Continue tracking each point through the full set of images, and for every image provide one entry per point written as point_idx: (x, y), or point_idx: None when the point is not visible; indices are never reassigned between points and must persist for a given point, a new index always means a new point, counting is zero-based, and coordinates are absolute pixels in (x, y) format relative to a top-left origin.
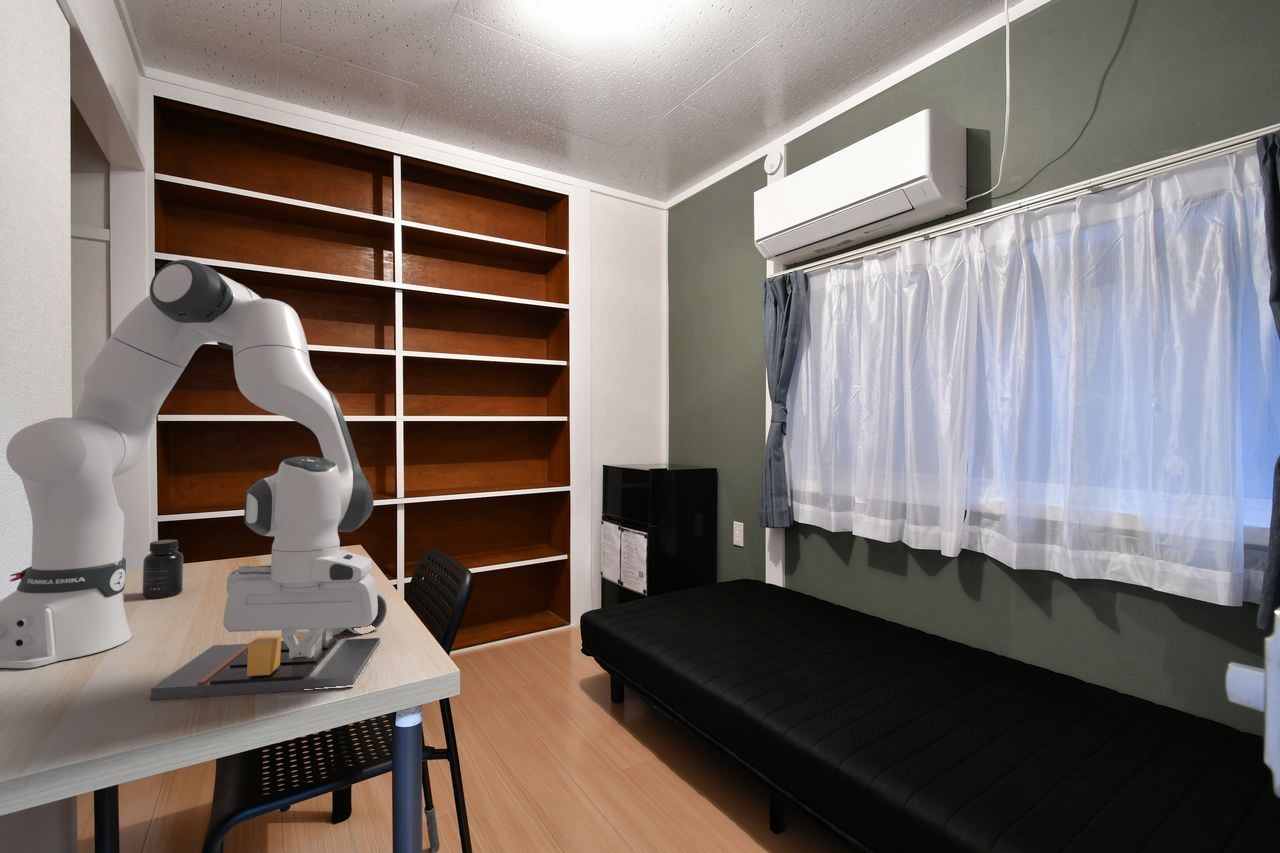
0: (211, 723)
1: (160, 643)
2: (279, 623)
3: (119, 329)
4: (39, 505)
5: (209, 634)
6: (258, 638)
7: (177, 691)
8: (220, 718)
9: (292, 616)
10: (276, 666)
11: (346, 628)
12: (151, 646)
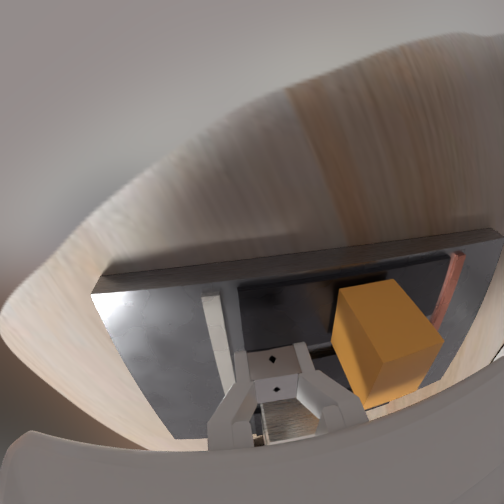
0: (386, 90)
1: (471, 371)
2: (391, 442)
3: None
4: None
5: None
6: (418, 380)
7: (477, 237)
8: (379, 113)
9: (344, 490)
10: (335, 327)
11: None
12: (477, 364)
